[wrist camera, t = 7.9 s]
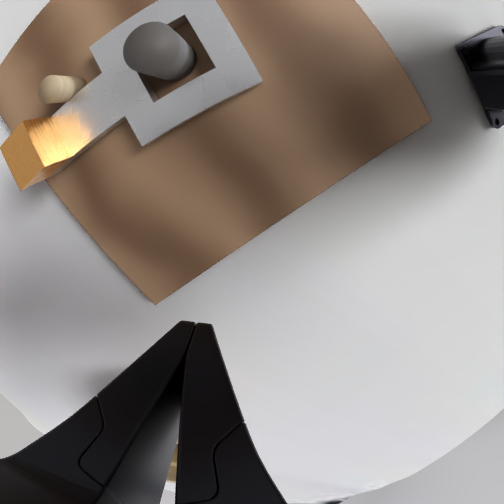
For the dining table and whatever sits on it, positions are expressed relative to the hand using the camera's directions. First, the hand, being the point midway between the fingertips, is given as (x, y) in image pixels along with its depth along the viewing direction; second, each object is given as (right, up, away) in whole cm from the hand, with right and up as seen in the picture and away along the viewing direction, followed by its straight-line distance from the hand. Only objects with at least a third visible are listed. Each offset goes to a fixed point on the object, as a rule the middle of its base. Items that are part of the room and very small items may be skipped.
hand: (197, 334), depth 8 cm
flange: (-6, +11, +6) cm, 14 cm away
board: (-3, +13, +7) cm, 15 cm away
